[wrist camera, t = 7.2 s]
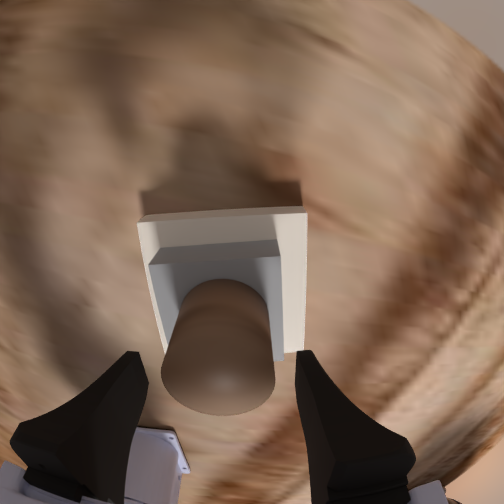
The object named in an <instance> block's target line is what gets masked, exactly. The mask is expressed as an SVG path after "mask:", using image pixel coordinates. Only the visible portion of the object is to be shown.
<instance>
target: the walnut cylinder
mask: <svg viewBox="0 0 504 504" xmlns="http://www.w3.org/2000/svg"><path fill="white" fill-rule="evenodd" d="M161 378H162V381H163V384H164V386H165V388H166V389H167V391H168V392H169V394H170V395H171V396H172V397H173V398H174V399H175V400H177V401H178V402H179V403H181V404H182V405H184V406H186V407H188V408H190V409H192V410H194V411H197V412H200V413H204V414H209V415H216V416H231V415H238V414H242V413H246V412H249V411H251V410H253V409H255V408H257V407H259V406H260V405H262V404H263V403H264V402H265V401H266V400H267V399H268V398H269V397H270V395H271V394H272V392H273V390H274V386H275V371H274V360H273V350H272V340H271V330H270V320H269V312H268V308H267V305H266V303H265V301H264V299H263V298H262V296H261V295H260V294H259V293H258V292H257V291H256V290H254V289H253V288H252V287H250V286H248V285H246V284H244V283H242V282H239V281H236V280H231V279H213V280H209V281H205V282H203V283H201V284H199V285H197V286H195V287H194V288H193V289H191V290H190V291H189V292H188V293H187V295H186V296H185V298H184V300H183V302H182V305H181V308H180V311H179V314H178V317H177V320H176V323H175V326H174V329H173V332H172V335H171V338H170V341H169V345H168V348H167V351H166V354H165V357H164V361H163V364H162V367H161Z"/></svg>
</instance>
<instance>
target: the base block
mask: <svg viewBox="0 0 504 504" xmlns="http://www.w3.org/2000/svg"><path fill="white" fill-rule="evenodd" d="M137 227H138V233H139V239H140V245H141V250H142V256H143V261H144V266H145V271H146V276H147V281H148V286H149V290H150V295H151V300H152V304H153V308H154V313H155V317H156V321H157V325H158V329H159V333H160V337H161V341H162V345H163V349H164V352H165V354H166V351H167V348H168V344H167V340H166V337H165V333H164V329H163V325H162V322H161V318H160V314H159V310H158V306H157V302H156V298H155V293H154V289H153V285H152V280H151V276H150V271H149V267H148V264H149V263H150V262H151V260H152V259H153V257H154V256H155V254H156V253H157V252H158V250H159V249H160V248H164V247H178V246H191V245H204V244H218V243H232V242H246V241H261V240H275V239H277V241H278V245H279V250H280V255H281V274H282V302H283V336H284V353H289V352H297V351H302V350H304V331H305V307H306V275H307V212H306V210H305V209H304V207H303V206H284V207H261V208H241V209H223V210H207V211H192V212H178V213H165V214H152V215H145V216H144V217H143V218H142V219H140V220H139V221H138V222H137Z"/></svg>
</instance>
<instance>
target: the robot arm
mask: <svg viewBox="0 0 504 504" xmlns="http://www.w3.org/2000/svg"><path fill="white" fill-rule="evenodd" d="M148 385H149V382H148V379H147V376H146V373H145V370H144V367H143V363H142V360H141V357H140V354H139V352H133V351H127V352H126V353H125V354H124V355H122V356H121V357H120V358H119V359H118V360H117V361H116V362H115V363H114V364H113V365H112V366H111V367H110V368H109V369H108V370H107V371H106V372H105V373H104V374H103V375H102V376H101V377H99V378H98V379H97V380H96V381H95V382H94V383H92V384H91V385H90V386H89V387H88V388H87V389H85V390H84V391H83V392H81V393H80V394H79V395H77V396H76V397H74V398H73V399H71V400H70V401H68V402H67V403H65V404H63V405H61V406H60V407H58V408H56V409H54V410H52V411H50V412H48V413H46V414H44V415H41V416H39V417H36V418H33V419H30V420H27V421H24V422H21V423H20V424H19V425H18V427H17V429H16V430H15V432H14V434H13V436H12V438H11V439H10V445H11V447H12V449H13V450H14V451H15V453H16V454H17V455H18V456H19V457H20V458H21V459H22V460H23V462H24V463H25V464H26V465H27V466H28V468H27V470H26V471H25V470H24V469H23V468H21V467H19V466H17V465H14V464H12V463H10V462H8V461H4V463H3V465H2V467H1V469H0V504H178V497H179V490H180V484H181V478H182V473H190V468H189V466H188V463H187V461H186V458H185V456H184V454H183V451H182V449H181V446H180V444H179V441H178V439H177V436H176V434H175V432H173V431H170V430H159V429H149V428H140V427H137V424H138V421H139V418H140V416H141V413H142V410H143V407H144V404H145V400H146V395H147V390H148ZM295 389H296V399H297V405H298V409H299V414H300V418H301V423H302V427H303V431H304V436H305V440H306V446H307V454H308V464H309V474H310V487H311V502H312V504H448V501H447V498H446V495H445V493H444V490H443V487H442V485H441V482H440V480H436V481H433V482H430V483H427V484H424V485H421V486H418V487H415V488H413V489H411V490H409V491H408V489H407V486H406V485H408V479H407V476H406V475H407V474H408V473H409V471H410V470H411V468H412V467H413V465H414V463H415V461H416V456H415V454H414V451H413V449H412V447H411V445H410V443H409V442H408V440H407V438H405V437H403V436H401V435H399V434H397V433H395V432H393V431H391V430H389V429H387V428H385V427H384V426H382V425H380V424H379V423H377V422H376V421H375V420H373V419H372V418H370V417H369V416H368V415H366V414H365V413H364V412H362V411H361V410H360V409H359V408H358V407H357V406H355V405H354V404H353V403H352V402H351V401H350V400H349V399H348V398H347V397H346V396H345V395H344V394H343V393H342V392H341V391H340V389H339V388H338V387H337V386H336V385H335V384H334V382H333V381H332V380H331V379H330V377H329V376H328V375H327V373H326V372H325V371H324V369H323V368H322V366H321V365H320V363H319V362H318V360H317V359H316V357H315V355H314V353H313V352H312V351H311V350H302V351H297V355H296V373H295Z"/></svg>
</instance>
